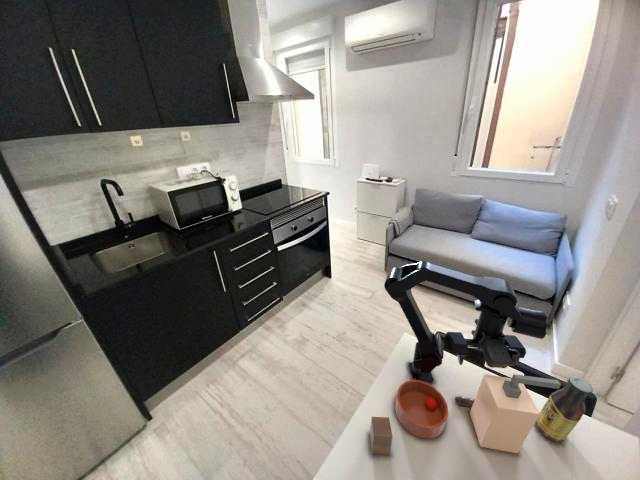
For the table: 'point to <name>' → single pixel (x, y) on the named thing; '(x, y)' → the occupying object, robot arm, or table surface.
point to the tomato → (430, 403)
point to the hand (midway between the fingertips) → (476, 364)
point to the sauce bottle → (564, 409)
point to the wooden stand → (380, 435)
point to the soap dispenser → (506, 410)
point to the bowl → (420, 409)
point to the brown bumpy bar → (464, 401)
